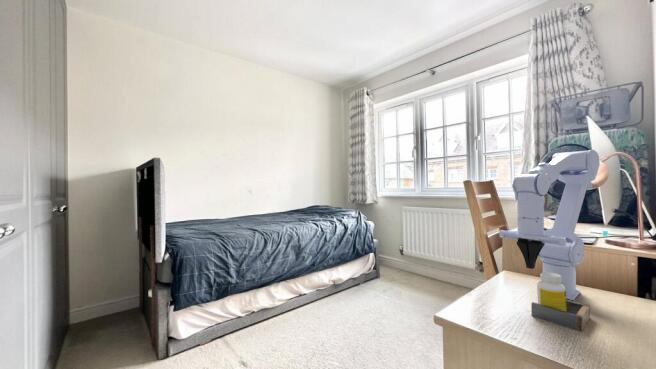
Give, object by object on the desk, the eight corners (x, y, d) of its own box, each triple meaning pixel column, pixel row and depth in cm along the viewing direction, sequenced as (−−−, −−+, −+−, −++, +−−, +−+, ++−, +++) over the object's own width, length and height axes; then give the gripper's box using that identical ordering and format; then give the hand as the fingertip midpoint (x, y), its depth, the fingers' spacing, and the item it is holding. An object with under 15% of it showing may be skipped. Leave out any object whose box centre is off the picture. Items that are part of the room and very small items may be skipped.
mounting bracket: (542, 304, 71) (542, 293, 71) (589, 318, 64) (589, 305, 64) (531, 315, 65) (531, 303, 65) (581, 331, 58) (581, 317, 58)
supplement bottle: (572, 321, 62) (569, 278, 62) (544, 318, 64) (542, 277, 64) (559, 311, 67) (557, 271, 68) (534, 309, 69) (532, 270, 69)
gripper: (494, 216, 76) (495, 264, 76) (561, 222, 64) (561, 278, 64) (504, 214, 80) (504, 259, 80) (568, 219, 69) (568, 272, 69)
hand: (530, 267), depth 73 cm, fingers closed
